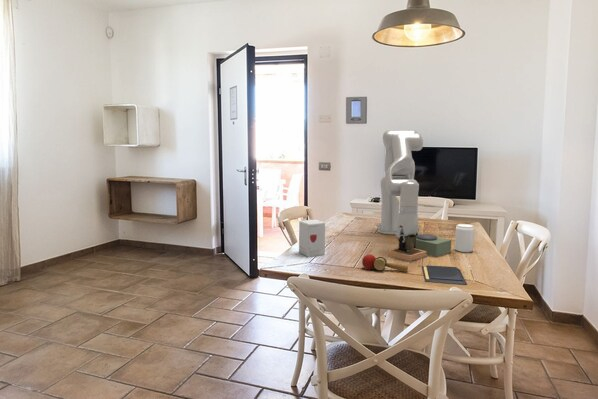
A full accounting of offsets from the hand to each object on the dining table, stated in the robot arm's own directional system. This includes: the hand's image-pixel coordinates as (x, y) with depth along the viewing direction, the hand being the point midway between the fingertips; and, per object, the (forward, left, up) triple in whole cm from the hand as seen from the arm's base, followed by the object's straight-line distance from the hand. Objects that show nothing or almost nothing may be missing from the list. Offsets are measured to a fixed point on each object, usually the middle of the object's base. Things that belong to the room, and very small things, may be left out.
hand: (407, 248), depth 185 cm
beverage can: (+11, +29, -4) cm, 31 cm away
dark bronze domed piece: (0, 0, -2) cm, 2 cm away
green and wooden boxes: (0, +7, -3) cm, 8 cm away
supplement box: (-31, -29, -4) cm, 43 cm away
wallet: (+24, -11, -4) cm, 27 cm away
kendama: (+6, -23, -4) cm, 24 cm away
